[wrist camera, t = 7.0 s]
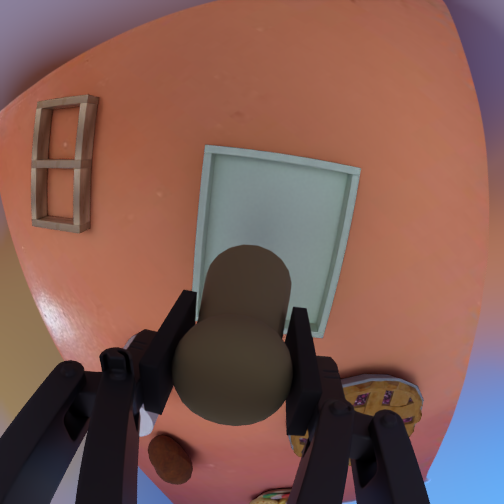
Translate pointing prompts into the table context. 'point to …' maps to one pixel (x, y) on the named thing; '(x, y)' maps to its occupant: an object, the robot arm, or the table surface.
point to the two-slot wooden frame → (63, 163)
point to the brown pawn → (237, 340)
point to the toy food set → (273, 497)
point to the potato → (170, 460)
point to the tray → (278, 219)
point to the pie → (377, 401)
